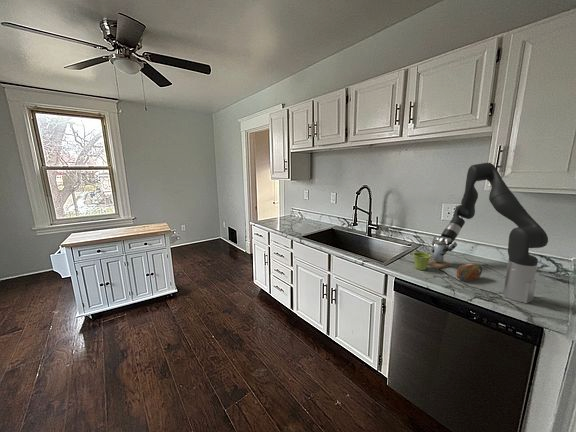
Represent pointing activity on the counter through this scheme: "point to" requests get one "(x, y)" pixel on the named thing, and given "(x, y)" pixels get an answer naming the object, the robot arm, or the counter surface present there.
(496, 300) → the counter surface
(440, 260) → the blue jar
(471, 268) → the tin
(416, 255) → the plant pot
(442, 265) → the tan board
